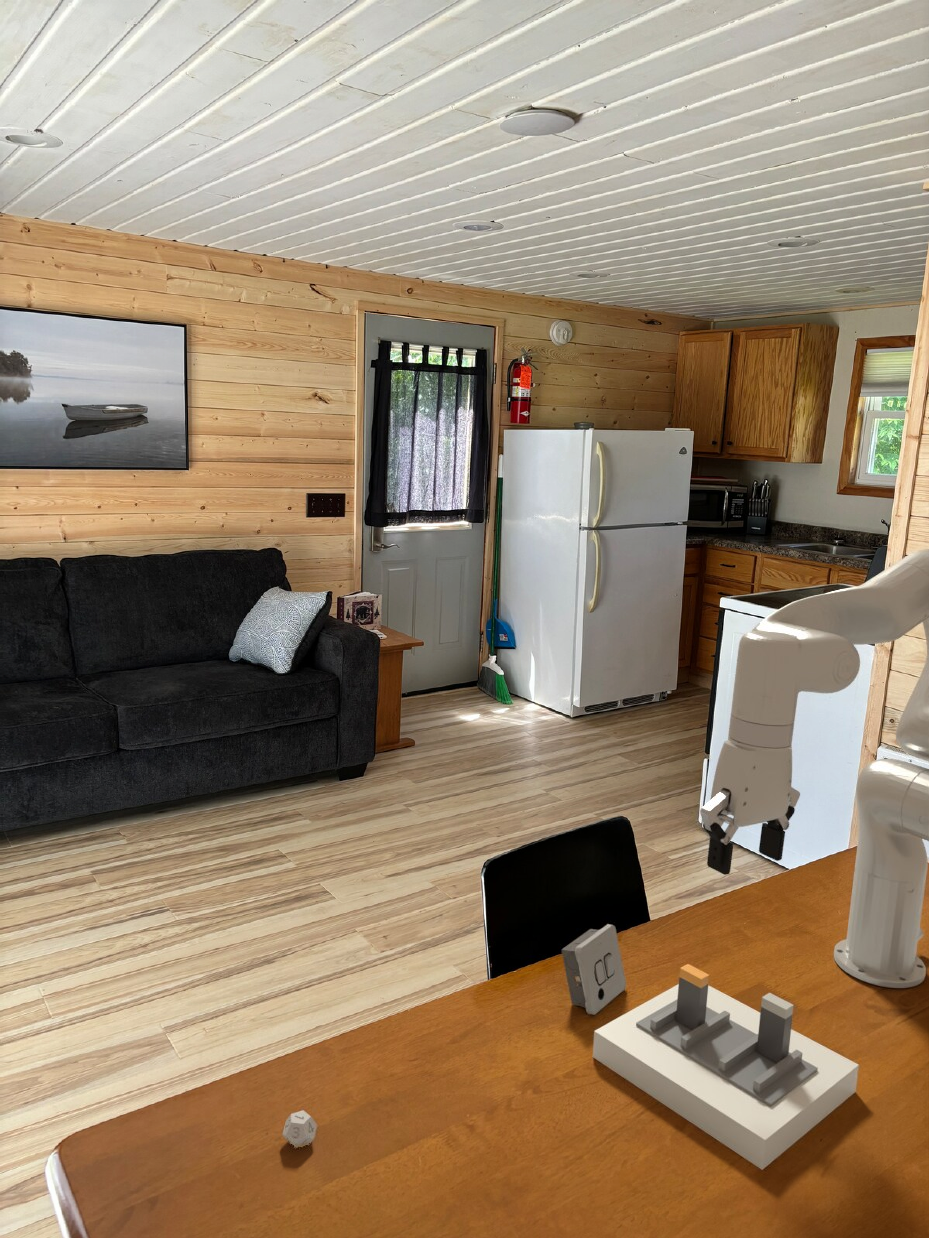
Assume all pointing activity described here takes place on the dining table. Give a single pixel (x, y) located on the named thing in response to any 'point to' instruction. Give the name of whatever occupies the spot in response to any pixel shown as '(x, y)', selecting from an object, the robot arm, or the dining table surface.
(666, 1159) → the dining table surface
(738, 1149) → the lever base
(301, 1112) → the game die
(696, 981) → the toggle
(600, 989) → the electrical switch
